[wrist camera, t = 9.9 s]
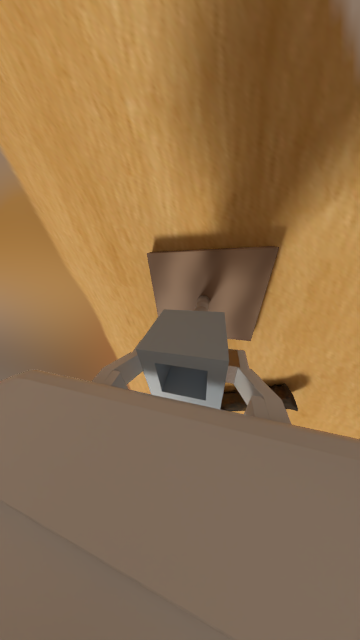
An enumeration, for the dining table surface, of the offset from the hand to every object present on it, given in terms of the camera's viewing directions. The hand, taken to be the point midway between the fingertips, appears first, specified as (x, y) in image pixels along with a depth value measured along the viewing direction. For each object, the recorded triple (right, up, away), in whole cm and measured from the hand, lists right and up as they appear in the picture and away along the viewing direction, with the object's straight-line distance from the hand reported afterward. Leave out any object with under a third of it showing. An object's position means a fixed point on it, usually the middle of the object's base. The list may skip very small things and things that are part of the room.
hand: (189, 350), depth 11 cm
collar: (0, +1, +2) cm, 2 cm away
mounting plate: (+3, +6, +8) cm, 10 cm away
